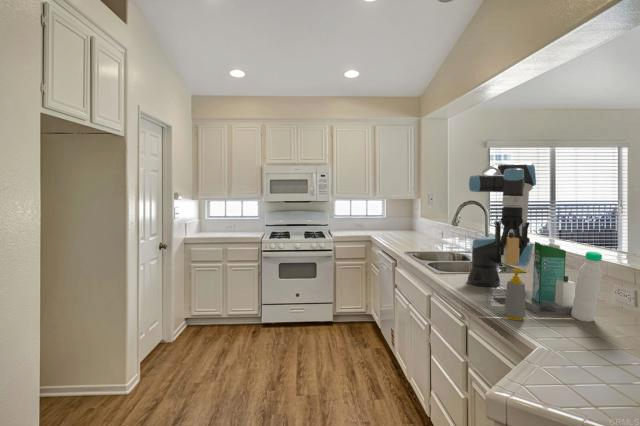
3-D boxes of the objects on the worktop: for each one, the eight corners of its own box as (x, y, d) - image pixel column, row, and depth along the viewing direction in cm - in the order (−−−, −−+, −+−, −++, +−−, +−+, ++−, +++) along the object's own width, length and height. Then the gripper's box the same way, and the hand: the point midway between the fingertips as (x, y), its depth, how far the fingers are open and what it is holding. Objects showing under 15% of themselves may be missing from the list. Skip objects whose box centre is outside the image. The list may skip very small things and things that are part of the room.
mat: (490, 299, 166) (490, 297, 166) (513, 299, 166) (513, 298, 166) (501, 305, 156) (501, 304, 156) (525, 306, 156) (526, 304, 156)
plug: (502, 262, 162) (503, 231, 162) (513, 263, 162) (514, 232, 161) (506, 264, 158) (508, 233, 157) (518, 265, 158) (519, 233, 157)
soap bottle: (518, 322, 137) (520, 272, 136) (500, 316, 142) (501, 268, 141) (529, 319, 140) (531, 270, 139) (510, 313, 146) (512, 266, 145)
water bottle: (588, 324, 137) (601, 257, 131) (567, 316, 142) (578, 252, 137) (597, 319, 141) (610, 254, 135) (575, 311, 146) (587, 248, 141)
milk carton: (563, 306, 157) (566, 245, 156) (538, 304, 159) (541, 244, 158) (555, 300, 166) (558, 242, 164) (532, 298, 168) (534, 241, 167)
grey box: (524, 308, 154) (525, 273, 153) (577, 308, 154) (579, 274, 153) (536, 315, 145) (538, 278, 144) (593, 316, 145) (595, 279, 144)
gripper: (494, 206, 155) (491, 264, 157) (539, 207, 155) (536, 265, 156) (486, 205, 163) (484, 260, 164) (529, 206, 162) (527, 261, 163)
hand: (509, 262), depth 160 cm, fingers closed on plug, 4 cm apart
